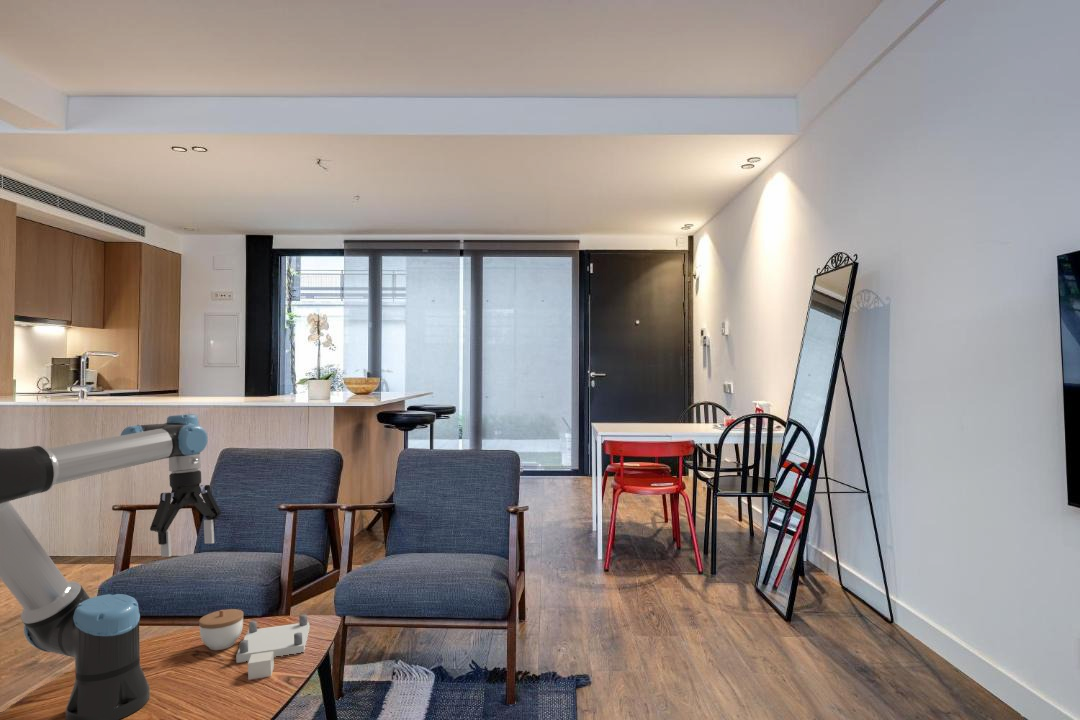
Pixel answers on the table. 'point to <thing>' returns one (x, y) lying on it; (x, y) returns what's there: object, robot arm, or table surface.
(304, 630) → the grey stand
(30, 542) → the robot arm
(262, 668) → the plain off-white block
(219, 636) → the lidded jar
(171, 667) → the table surface
